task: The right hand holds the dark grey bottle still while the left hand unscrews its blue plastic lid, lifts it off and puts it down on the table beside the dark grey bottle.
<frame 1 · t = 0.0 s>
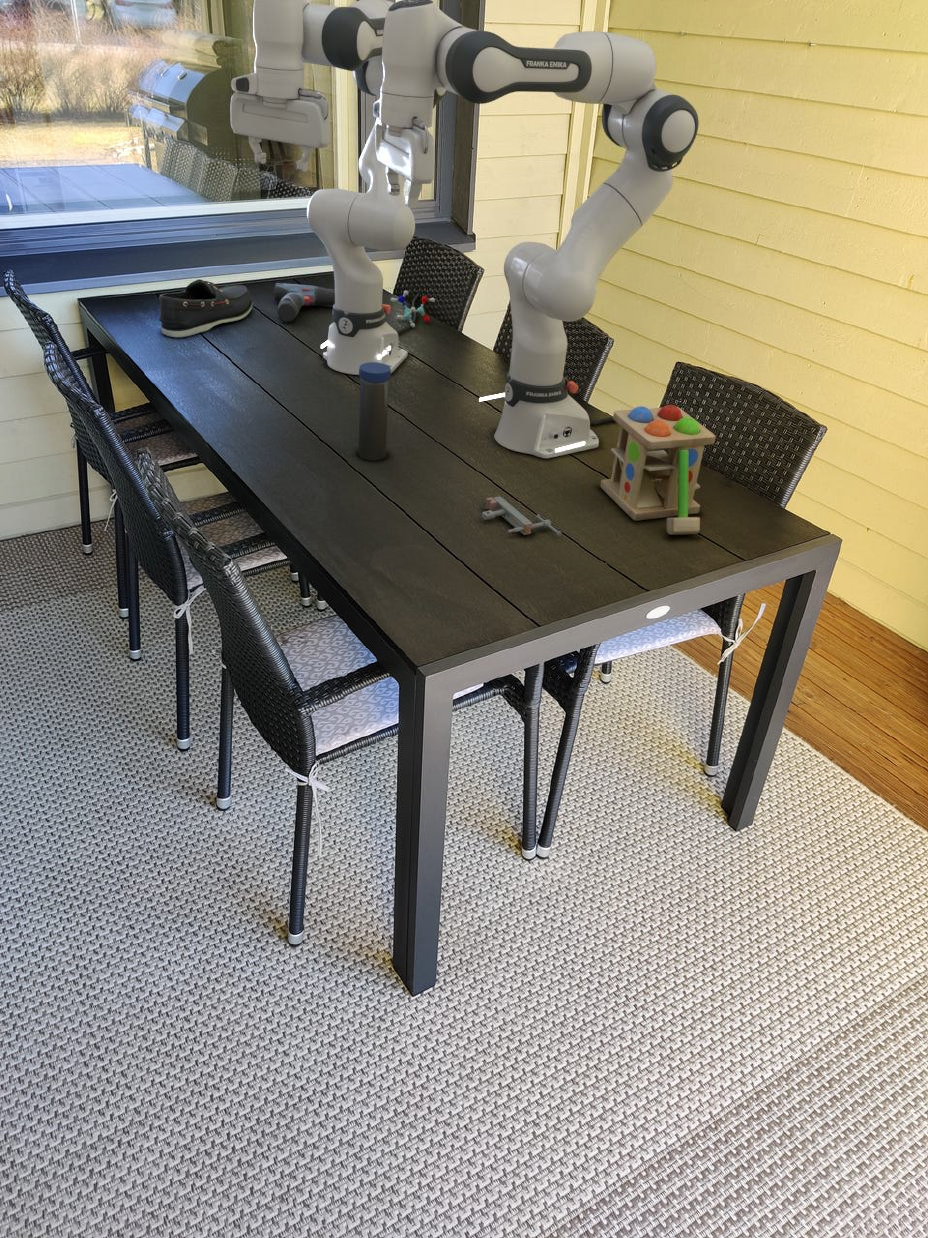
left hand: (281, 166, 187), 48 cm above the table, tool pointing down, fingers open, 8 cm apart
right hand: (402, 200, 171), 48 cm above the table, tool pointing down, fingers open, 8 cm apart
clamp: (515, 525, 177), on the table
lid: (375, 369, 187), point 18 cm above the table, screwed on, not yet turned
dark grey bottle: (372, 454, 197), on the table
power drill: (305, 313, 267), on the table
boat shoe: (208, 320, 255), on the table
molecular model: (409, 322, 268), on the table
pounding bench toy: (659, 510, 187), on the table
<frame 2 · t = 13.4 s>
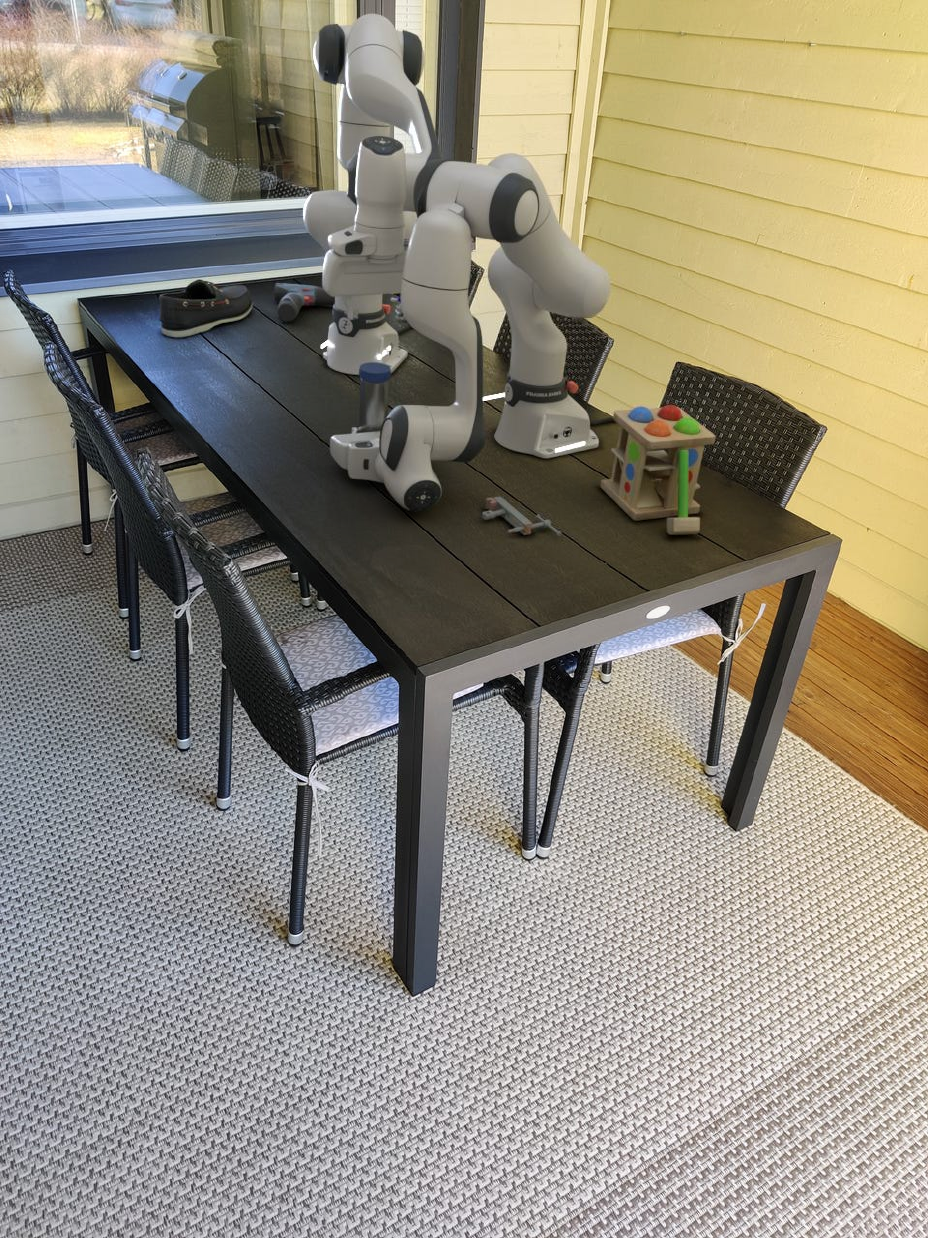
left hand: (376, 317, 181), 28 cm above the table, tool pointing down, fingers open, 8 cm apart
right hand: (371, 429, 195), 5 cm above the table, tool horizontal, fingers closed on dark grey bottle, 5 cm apart
dark grey bottle: (372, 454, 197), on the table, touching right hand
everything else where it was.
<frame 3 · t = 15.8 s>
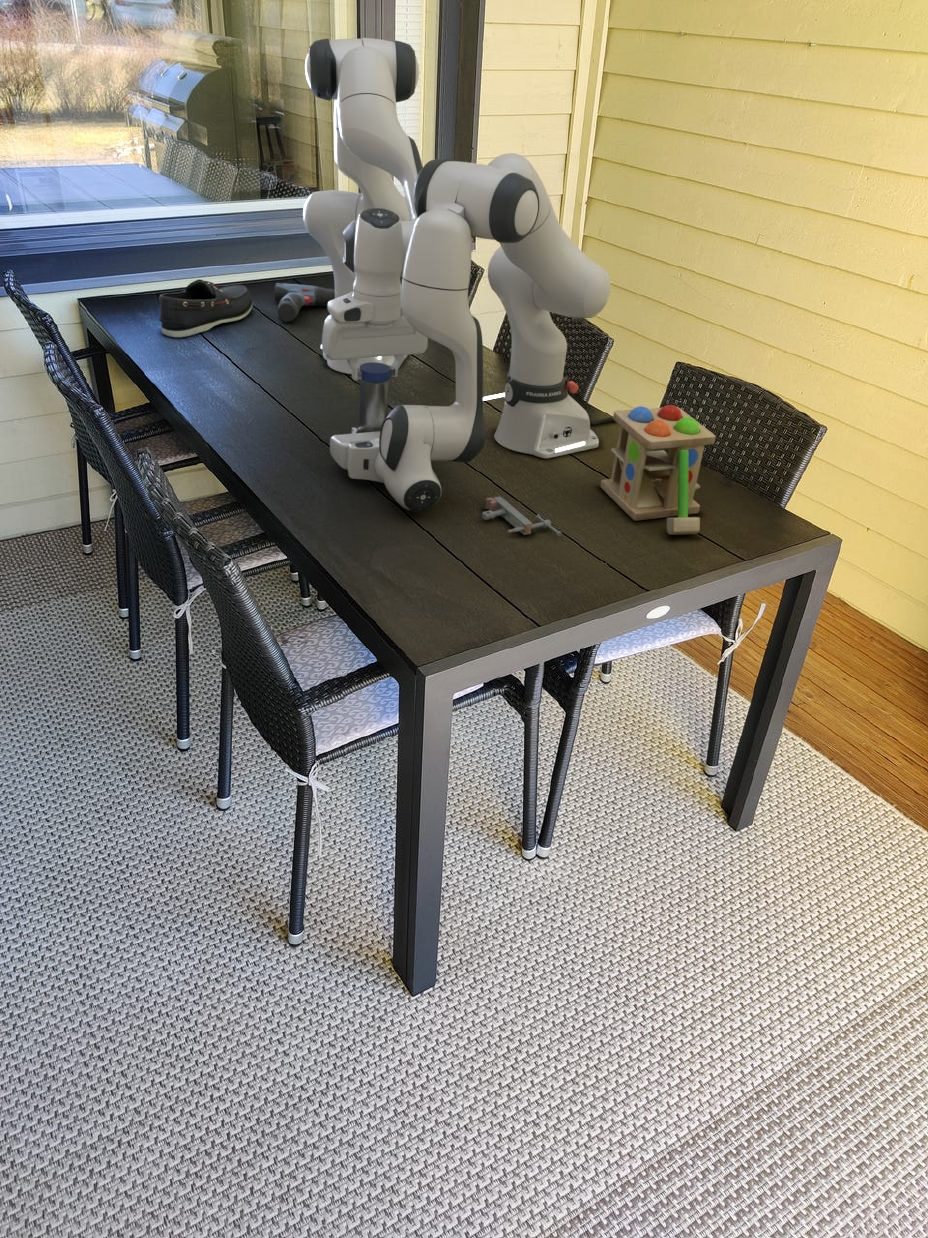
left hand: (374, 377, 188), 16 cm above the table, tool pointing down, fingers closed on lid, 6 cm apart
right hand: (371, 429, 195), 5 cm above the table, tool horizontal, fingers closed on dark grey bottle, 5 cm apart
lid: (375, 369, 187), point 18 cm above the table, screwed on, not yet turned, touching left hand
dark grey bottle: (372, 454, 197), on the table, touching right hand
everything else where it was.
when the left hand's fingers open (16 cm above the table, at t = 17.0 s): lid stays where it is, point 18 cm above the table.
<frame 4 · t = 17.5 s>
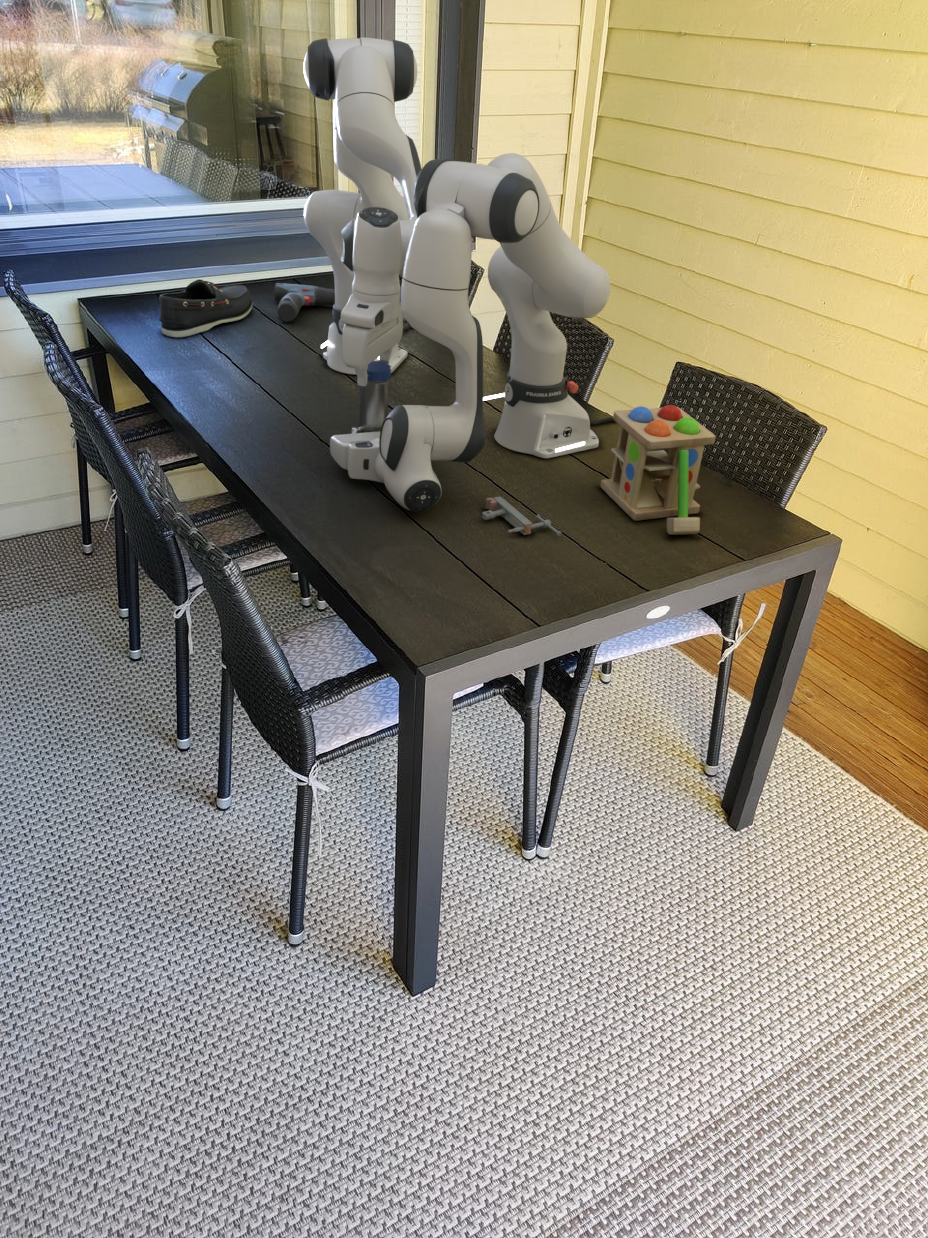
left hand: (373, 376, 188), 16 cm above the table, tool pointing down, fingers open, 8 cm apart
right hand: (371, 429, 195), 5 cm above the table, tool horizontal, fingers closed on dark grey bottle, 5 cm apart
lid: (375, 368, 187), point 18 cm above the table, turned 73° so far, risen 0.2 cm, still on its thread
dark grey bottle: (372, 454, 197), on the table, touching right hand
everything else where it was.
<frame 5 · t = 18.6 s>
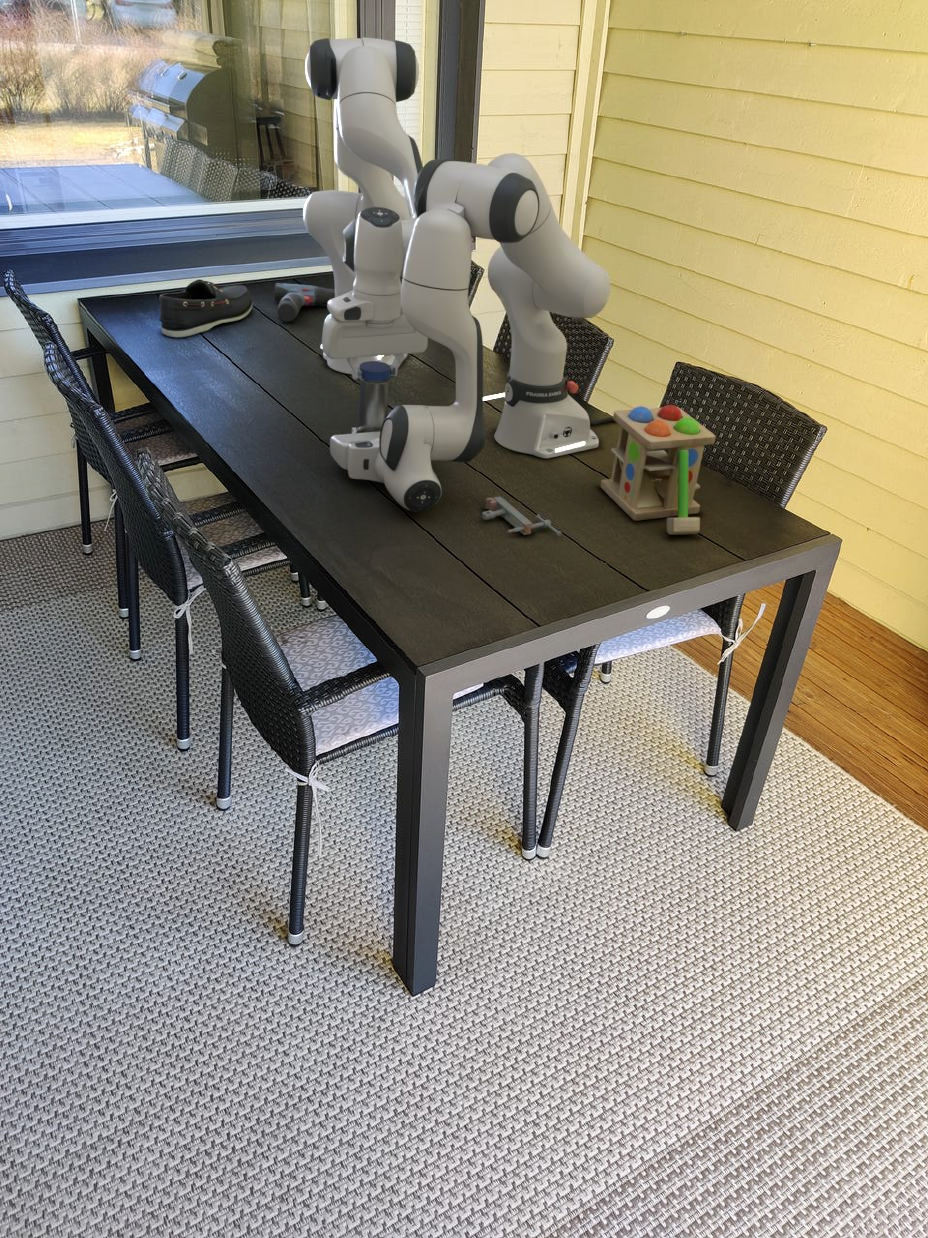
left hand: (374, 376, 188), 16 cm above the table, tool pointing down, fingers closed on lid, 6 cm apart
right hand: (371, 429, 195), 5 cm above the table, tool horizontal, fingers closed on dark grey bottle, 5 cm apart
lid: (375, 368, 187), point 18 cm above the table, turned 73° so far, risen 0.2 cm, still on its thread, touching left hand
dark grey bottle: (372, 454, 197), on the table, touching right hand
everything else where it was.
when the left hand's fingers open (2 cm above the table, at t = 26.1 s): lid drops 2 cm, point 2 cm above the table.
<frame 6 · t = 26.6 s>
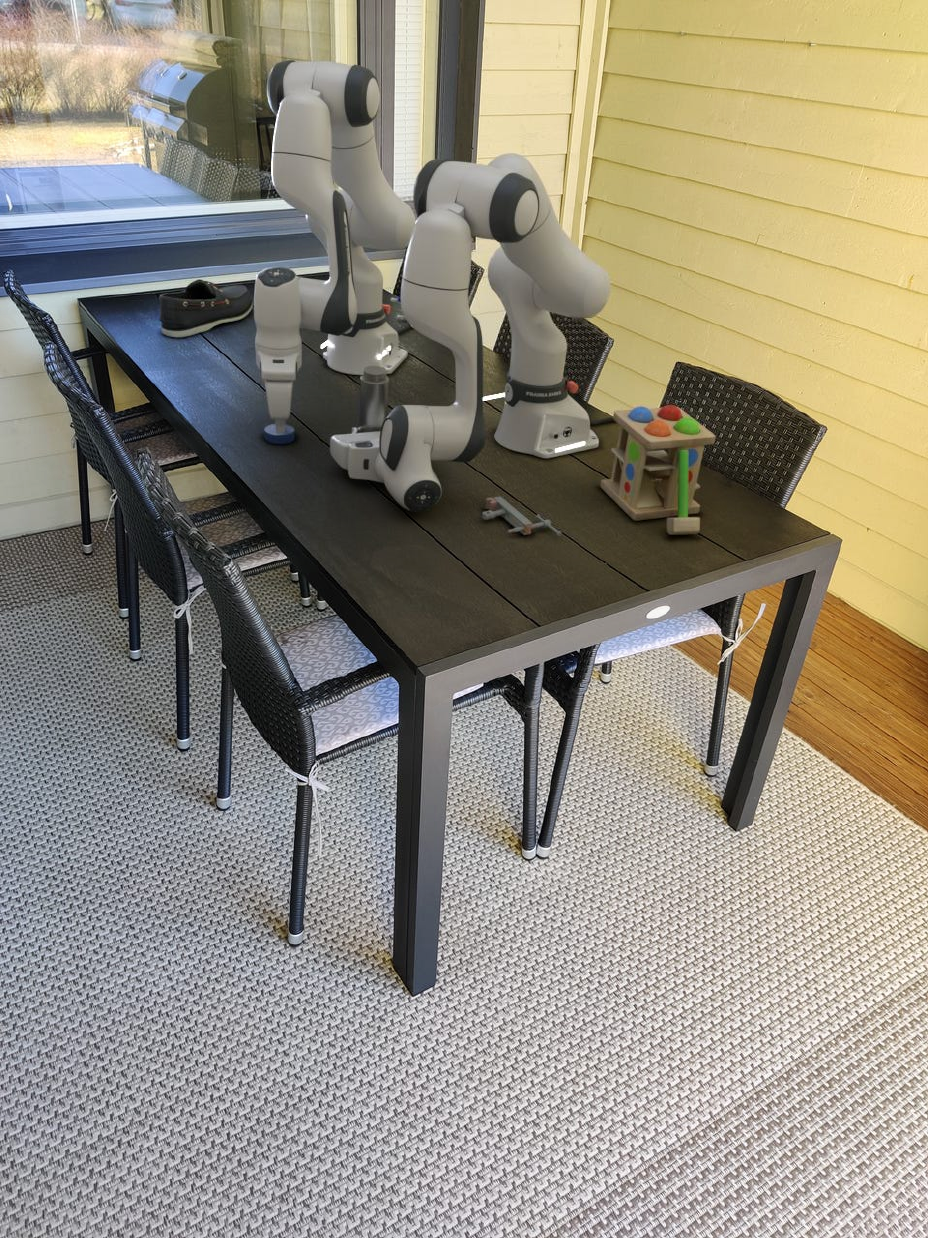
left hand: (280, 422, 199), 3 cm above the table, tool pointing down, fingers open, 8 cm apart
right hand: (371, 429, 195), 5 cm above the table, tool horizontal, fingers closed on dark grey bottle, 5 cm apart
lid: (279, 430, 199), point 2 cm above the table, off its thread
dark grey bottle: (372, 454, 197), on the table, touching right hand
everything else where it was.
when the right hand's fingers open (5 cm above the table, at t = 27.1 s): dark grey bottle stays where it is, on the table.
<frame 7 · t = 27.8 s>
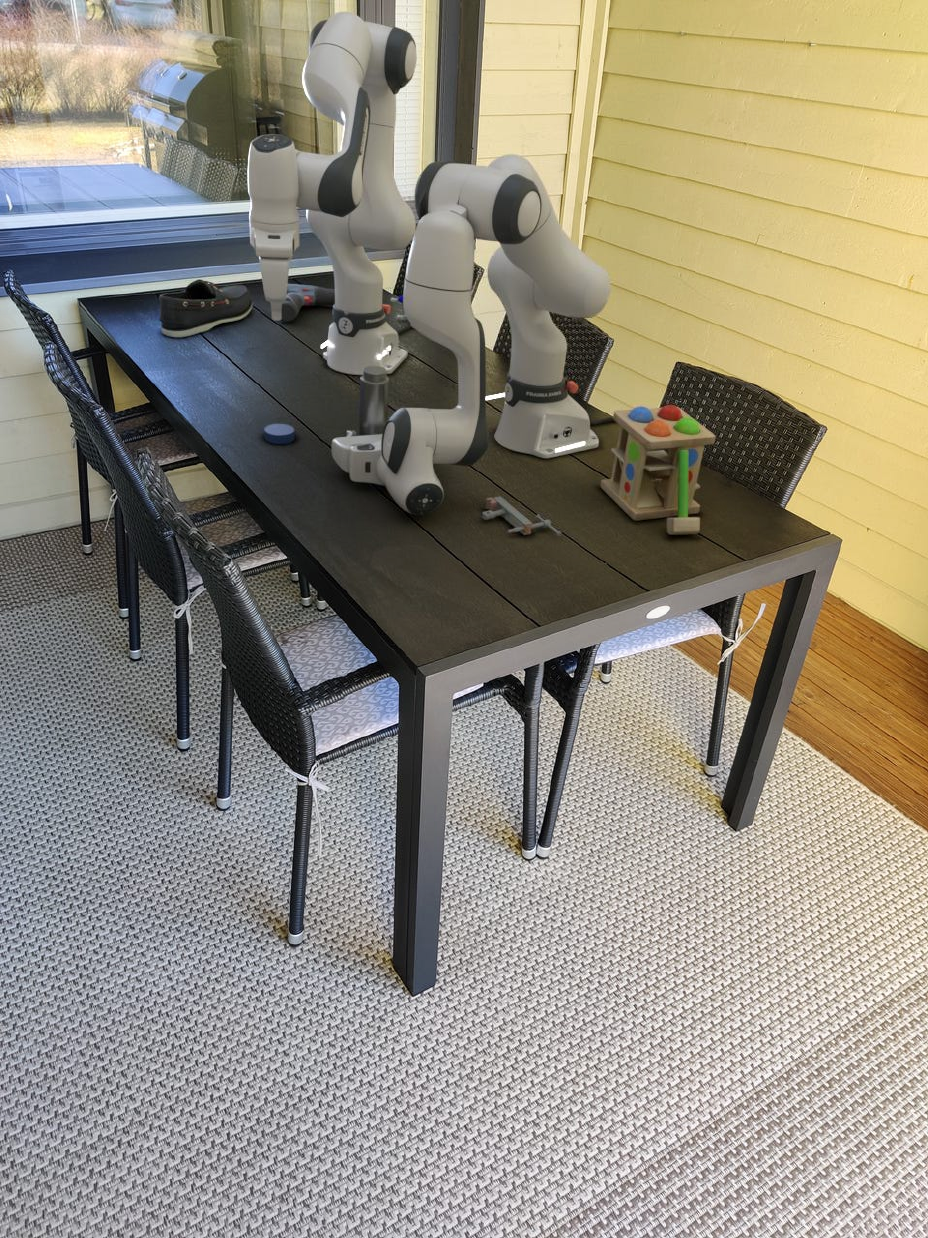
left hand: (277, 310, 186), 26 cm above the table, tool pointing down, fingers open, 8 cm apart
right hand: (373, 431, 194), 5 cm above the table, tool horizontal, fingers open, 8 cm apart
dark grey bottle: (372, 454, 197), on the table
everything else where it was.
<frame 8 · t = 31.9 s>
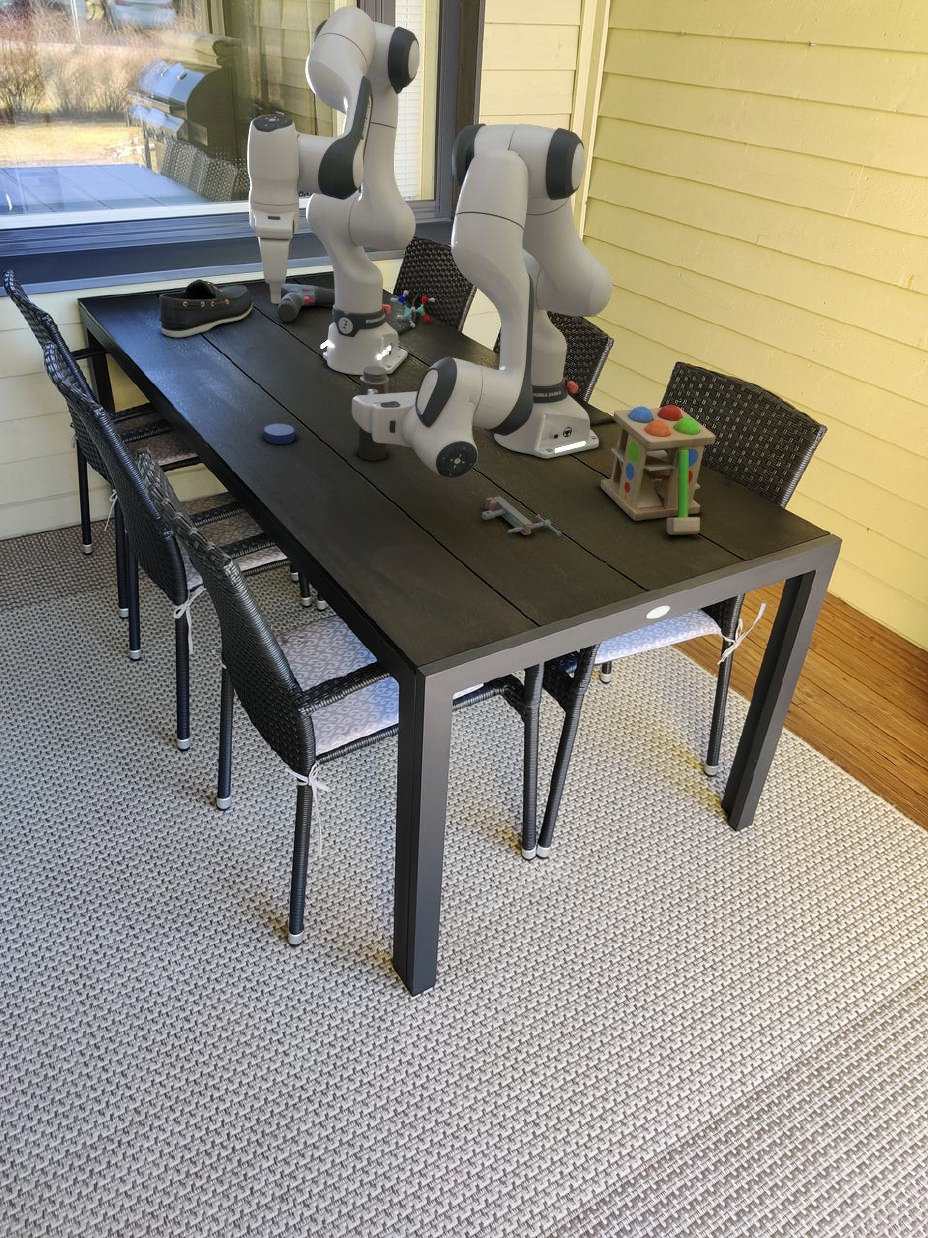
left hand: (276, 294, 184), 29 cm above the table, tool pointing down, fingers open, 8 cm apart
right hand: (396, 391, 177), 18 cm above the table, tool horizontal, fingers open, 8 cm apart
nothing on the table moved.
at the end: lid came off its thread; lid point 1.5 cm above the table; the left hand is holding nothing; the right hand is holding nothing; dark grey bottle tilted 0°; dark grey bottle moved 0.0 cm from its start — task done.
